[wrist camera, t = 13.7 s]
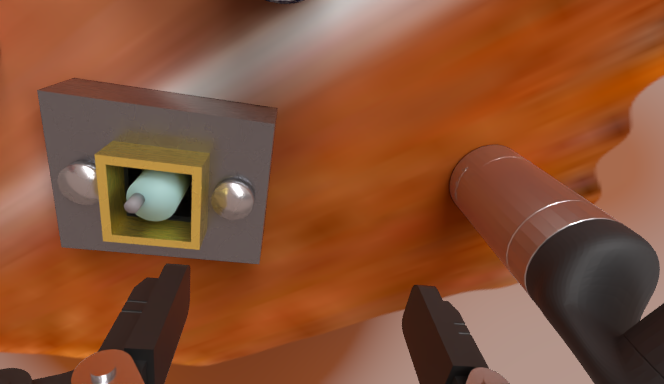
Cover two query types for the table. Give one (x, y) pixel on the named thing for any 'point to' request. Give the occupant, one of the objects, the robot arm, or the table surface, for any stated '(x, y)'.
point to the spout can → (156, 194)
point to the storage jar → (285, 1)
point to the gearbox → (157, 169)
